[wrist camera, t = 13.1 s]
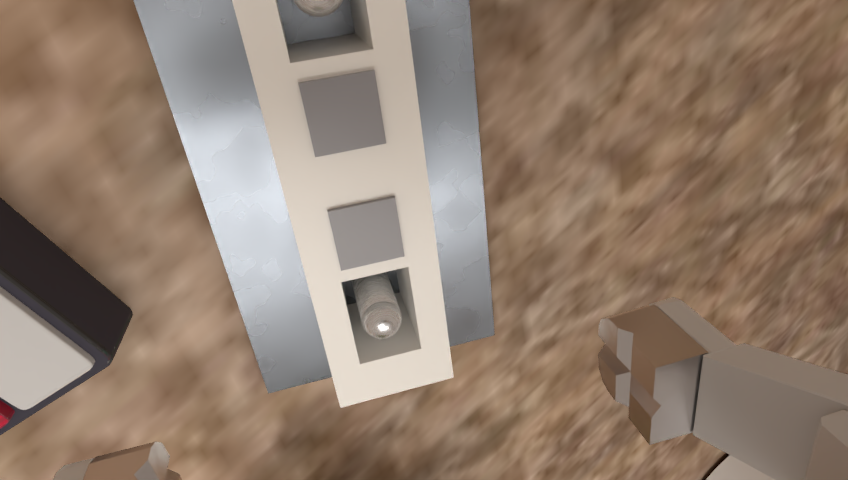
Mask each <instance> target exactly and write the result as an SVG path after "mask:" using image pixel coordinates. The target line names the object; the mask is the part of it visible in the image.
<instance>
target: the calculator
mask: <svg viewBox="0 0 848 480" xmlns="http://www.w3.org/2000/svg"><path fill="white" fill-rule="evenodd" d="M132 315H133V314H132V311H131V309H130V308H129V307H128V306H127V305H126V304H124V303H123V302H122V301H121V300H120V299H119V298H117V297H116V296H115V295H114V294H113V293H111V292H110V291H109V290H108V289H107V288H106V287H104V286H103V285H102V284H101V283H100V282H99V281H97V280H96V279H95V278H94V277H93V276H92V275H90V274H89V273H88V272H87V271H86V270H85V269H83V268H82V267H81V266H80V265H79V264H77V263H76V262H75V261H74V260H73V259H72V258H70V257H69V256H68V255H67V254H66V253H65V252H63V251H62V250H61V249H60V248H59V247H58V246H56V245H55V244H54V243H53V242H52V241H50V240H49V239H48V238H47V237H46V236H45V235H43V234H42V233H41V232H40V231H39V230H38V229H36V228H35V227H34V226H33V225H32V224H31V223H29V222H28V221H27V220H26V219H25V218H23V217H22V216H21V215H20V214H19V213H18V212H16V211H15V210H14V209H13V208H12V207H11V206H9V205H8V204H7V203H6V202H5V201H4V200H2V199H1V198H0V435H1V434H3V433H4V432H6V431H8V430H9V429H11V428H12V427H14V426H15V425H17V424H19V423H20V422H22V421H23V420H25V419H26V418H28V417H29V416H31V415H33V414H34V413H36V412H37V411H39V410H40V409H42V408H44V407H45V406H47V405H48V404H50V403H51V402H53V401H55V400H56V399H58V398H59V397H61V396H62V395H64V394H65V393H67V392H69V391H70V390H72V389H73V388H75V387H76V386H78V385H80V384H81V383H83V382H84V381H86V380H87V379H89V378H91V377H92V376H94V375H95V374H97V373H98V372H100V371H101V370H103V369H105V368H106V367H107V366H109V365H110V364H111V362H112V360H113V358H114V356H115V354H116V352H117V349H118V347H119V345H120V343H121V340H122V338H123V336H124V334H125V332H126V329H127V327H128V325H129V323H130V320H131V318H132Z"/></svg>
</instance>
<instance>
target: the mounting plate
mask: <svg viewBox="0 0 848 480" xmlns="http://www.w3.org/2000/svg"><path fill="white" fill-rule="evenodd" d="M277 2H278V6H279V11H280V15H281V19H282V24H283V28H284V32H285V37H286V41H287V44H293V43H299V42H305V41H312V40H318V39H324V38H330V37H336V36H342V35H348V34H355V29H354V24H353V18H352V12H351V6H350V0H277ZM405 2H406V10H407V18H408V25H409V33H410V41H411V49H412V57H413V64H414V72H415V80H416V88H417V96H418V104H419V111H420V119H421V127H422V135H423V143H424V150H425V158H426V166H427V174H428V182H429V189H430V197H431V205H432V213H433V221H434V228H435V236H436V244H437V252H438V260H439V267H440V275H441V283H442V291H443V299H444V306H445V314H446V322H447V330H448V338H449V345H450V346H454V345H458V344H462V343H466V342H470V341H474V340H477V339H481V338H485V337H489V336H493V335H495V334H494V321H493V308H492V294H491V281H490V268H489V255H488V242H487V229H486V215H485V202H484V189H483V176H482V163H481V150H480V137H479V123H478V110H477V97H476V84H475V71H474V58H473V44H472V31H471V18H470V5H469V0H405ZM134 3H135V6H136V9H137V12H138V15H139V18H140V21H141V24H142V27H143V30H144V32H145V35H146V38H147V41H148V44H149V47H150V50H151V53H152V56H153V59H154V62H155V64H156V67H157V70H158V73H159V76H160V79H161V82H162V85H163V88H164V91H165V94H166V97H167V99H168V102H169V105H170V108H171V111H172V114H173V117H174V120H175V123H176V126H177V129H178V132H179V134H180V137H181V140H182V143H183V146H184V149H185V152H186V155H187V158H188V161H189V164H190V166H191V169H192V172H193V175H194V178H195V181H196V184H197V187H198V190H199V193H200V196H201V199H202V201H203V204H204V207H205V210H206V213H207V216H208V219H209V222H210V225H211V228H212V231H213V233H214V236H215V239H216V242H217V245H218V248H219V251H220V254H221V257H222V260H223V263H224V266H225V268H226V271H227V274H228V277H229V280H230V283H231V286H232V289H233V292H234V295H235V298H236V301H237V303H238V306H239V309H240V312H241V315H242V318H243V321H244V324H245V327H246V330H247V333H248V335H249V338H250V341H251V344H252V347H253V350H254V353H255V356H256V359H257V362H258V365H259V368H260V370H261V373H262V376H263V379H264V382H265V385H266V388H267V391H268V393H272V392H276V391H279V390H283V389H287V388H291V387H295V386H299V385H303V384H307V383H310V382H314V381H318V380H322V379H326V378H330V377H332V374H331V370H330V367H329V363H328V359H327V355H326V352H325V348H324V344H323V340H322V337H321V333H320V329H319V325H318V322H317V318H316V314H315V310H314V307H313V303H312V299H311V295H310V292H309V288H308V284H307V280H306V277H305V273H304V269H303V265H302V261H301V258H300V254H299V250H298V246H297V243H296V239H295V235H294V231H293V228H292V224H291V220H290V216H289V213H288V209H287V205H286V201H285V198H284V194H283V190H282V186H281V183H280V179H279V175H278V171H277V168H276V164H275V160H274V156H273V153H272V149H271V145H270V141H269V137H268V134H267V130H266V126H265V122H264V119H263V115H262V111H261V107H260V104H259V100H258V96H257V92H256V89H255V85H254V81H253V77H252V74H251V70H250V66H249V62H248V59H247V55H246V51H245V47H244V44H243V40H242V36H241V32H240V29H239V25H238V21H237V17H236V13H235V10H234V6H233V2H232V0H134ZM342 284H343V289H344V293H345V297H346V302H347V305H349V304H353V303H357V306H358V310H359V314H360V318H361V322H362V326H363V328H364V330H365V331H366V332H367V334H369V335H370V336H371V337H373V338H376V339H387V338H389V337H391V336H393V335H394V334H395V333H396V332H397V331H398V330H399V328H400V326H401V323H402V314H401V311H400V308H399V305H398V303H397V300H396V297H395V293H399V292H400V290H399V284H398V279H397V273H396V270H392V271H388V272H384V273H379V274H375V275H371V276H367V277H362V278H358V279H354V280H349V281H345V282H342Z"/></svg>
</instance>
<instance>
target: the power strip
mask: <svg viewBox="0 0 848 480" xmlns="http://www.w3.org/2000/svg"><path fill="white" fill-rule="evenodd" d="M232 2H233V6H234V10H235V13H236V17H237V21H238V25H239V29H240V32H241V36H242V40H243V44H244V47H245V51H246V55H247V59H248V62H249V66H250V70H251V74H252V77H253V81H254V85H255V89H256V92H257V96H258V100H259V104H260V107H261V111H262V115H263V119H264V122H265V126H266V130H267V134H268V137H269V141H270V145H271V149H272V153H273V156H274V160H275V164H276V168H277V171H278V175H279V179H280V183H281V186H282V190H283V194H284V198H285V201H286V205H287V209H288V213H289V216H290V220H291V224H292V228H293V231H294V235H295V239H296V243H297V246H298V250H299V254H300V258H301V261H302V265H303V269H304V273H305V277H306V280H307V284H308V288H309V292H310V295H311V299H312V303H313V307H314V310H315V314H316V318H317V322H318V325H319V329H320V333H321V337H322V340H323V344H324V348H325V352H326V355H327V359H328V363H329V367H330V370H331V374H332V378H333V382H334V385H335V389H336V393H337V397H338V400H339V404H340V408H342V407H345V406H349V405H353V404H357V403H360V402H364V401H368V400H372V399H375V398H379V397H383V396H386V395H390V394H394V393H398V392H401V391H405V390H409V389H413V388H416V387H420V386H424V385H427V384H431V383H435V382H439V381H442V380H446V379H450V378H454V377H453V369H452V361H451V353H450V345H449V338H448V330H447V322H446V314H445V306H444V299H443V291H442V283H441V275H440V267H439V260H438V252H437V244H436V236H435V228H434V221H433V213H432V205H431V197H430V189H429V182H428V174H427V166H426V158H425V150H424V143H423V135H422V127H421V119H420V111H419V104H418V96H417V88H416V80H415V72H414V64H413V57H412V49H411V41H410V33H409V25H408V18H407V10H406V2H405V0H350V6H351V12H352V18H353V24H354V29H355V34H348V35H342V36H336V37H330V38H324V39H318V40H312V41H305V42H299V43H293V44H287V41H286V37H285V32H284V28H283V24H282V19H281V15H280V11H279V6H278V2H277V0H232ZM392 270H396V273H397V279H398V284H399V290H400V292H399V293H395V297H396V300H397V303H398V305H399V308H400V311H401V314H402V323H401V326H400V328H399V330H398V331H397V332H396V333H395V334H394V335H393V336H391V337H389V338H387V339H376V338H373V337H371V336H370V335H369V334H367V332H366V331H365V330H364V328H363V326H362V322H361V318H360V314H359V310H358V306H357V303H353V304H349V305H347V302H346V297H345V293H344V289H343V284H342V282H345V281H349V280H354V279H358V278H362V277H367V276H371V275H375V274H379V273H384V272H388V271H392Z"/></svg>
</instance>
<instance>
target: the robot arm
mask: <svg viewBox="0 0 848 480" xmlns="http://www.w3.org/2000/svg"><path fill="white" fill-rule="evenodd" d="M599 337H600V338H601V339H602V340H603V341H604V343H605V345H604V346H603V348H602V349H601V351H600V352H599V354H598V359H599V370H600V374H601V377H602V380H603V383H604V385H605V386H606V388H607V390H608V392H609V393H610V395H611V396H612V397H613V399H614V400H615V401H617V402H619V403H621V404H623V405H626V406H628V407H629V419H630V420H631V422H632V423H633V424H634V425H635V427H636V428H637V429H638V430H639V432H640V433H641V434H642V436H643V437H644V438H645V439H646V441H647V442H648V443H649V444H654V443H657V442H661V441H664V440H668V439H671V438H675V437H678V436H682V435H686V434H689V433H693V435H694V436H696V437H698V438H700V439H701V440H703V441H705V442H707V443H709V444H711V445H712V446H714V447H716V448H718V449H720V450H722V451H723V452H725V453H727V454H729V456H728V457H727V458H726V459H725V460H724V461H723V462H722V463H721V464H720V465H719V466H718V467H717V468H716V469H715V470H714V471H713V472H712V473H711V474H710V475H709V476H708V478H707V479H706V480H848V374H844V373H841V372H838V371H834V370H831V369H828V368H825V367H821V366H818V365H815V364H811V363H808V362H805V361H801V360H798V359H795V358H791V357H788V356H785V355H781V354H778V353H775V352H771V351H768V350H765V349H762V348H758V347H755V346H752V345H748V344H745V343H743V344H740V345H736V344H735V343H733V342H732V341H731V340H730V339H728V338H727V337H726V336H725V335H724V334H722V333H721V332H720V331H719V330H717V329H716V328H715V327H714V326H712V325H711V324H710V323H709V322H708V321H706V320H705V319H704V318H703V317H701V316H700V315H699V314H698V313H697V312H695V311H694V310H693V309H692V308H690V307H689V306H688V305H687V304H685V303H684V302H683V301H682V300H680V299H678V298H674V297H672V298H669V299H665V300H662V301H659V302H655V303H652V304H649V305H648V306H643V307H640V308H636V309H633V310H629V311H626V312H622V313H619V314H615V315H612V316H608V317H605V318H602V319H601V321H600V324H599ZM169 458H170V456H169V454H168V452H167V451H166V449H165V447H164V445H163V444H162V443H160V442H153V443H149V444H145V445H141V446H137V447H133V448H129V449H125V450H121V451H117V452H113V453H109V454H105V455H101V456H97V457H95V458H92V459H88V460H84V461H80V462H76V463H72V464H68V465H64V466H63V467H62V468H61V469H60V470H59V471H57V472H56V474H55V476H54V478H53V480H182V479H181V477H180V475H179V474H178V473H176V472H174V471H171V470H169V469H167V468H168V463H169Z"/></svg>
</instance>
